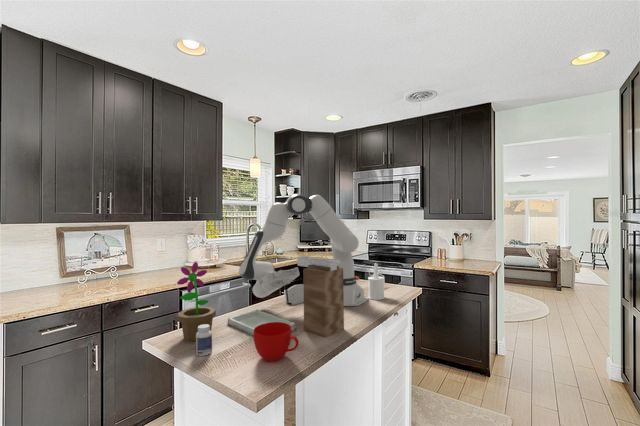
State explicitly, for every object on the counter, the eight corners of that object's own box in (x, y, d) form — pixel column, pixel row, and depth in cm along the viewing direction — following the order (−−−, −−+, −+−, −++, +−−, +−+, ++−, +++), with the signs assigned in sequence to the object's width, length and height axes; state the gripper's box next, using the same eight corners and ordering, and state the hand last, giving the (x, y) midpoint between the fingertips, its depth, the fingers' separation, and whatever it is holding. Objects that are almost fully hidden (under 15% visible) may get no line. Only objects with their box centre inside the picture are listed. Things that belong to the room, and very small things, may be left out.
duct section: (303, 264, 144) (303, 255, 144) (337, 269, 131) (336, 259, 131) (297, 265, 141) (297, 256, 141) (330, 270, 128) (330, 261, 128)
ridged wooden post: (323, 322, 142) (322, 262, 142) (343, 328, 134) (343, 265, 133) (304, 329, 133) (303, 266, 133) (324, 337, 125) (323, 269, 125)
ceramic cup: (286, 373, 98) (286, 341, 98) (245, 361, 106) (245, 331, 106) (308, 356, 109) (308, 327, 109) (269, 346, 117) (269, 319, 117)
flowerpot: (206, 327, 137) (205, 259, 137) (222, 336, 127) (221, 262, 127) (172, 337, 127) (171, 263, 127) (186, 348, 117) (185, 267, 117)
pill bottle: (214, 352, 113) (214, 325, 113) (200, 358, 109) (200, 330, 109) (207, 348, 116) (207, 322, 116) (193, 353, 112) (192, 326, 112)
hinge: (291, 305, 168) (287, 286, 171) (286, 306, 172) (282, 288, 174) (313, 298, 180) (309, 281, 183) (308, 300, 184) (304, 283, 186)
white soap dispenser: (374, 301, 174) (374, 265, 174) (364, 297, 182) (364, 262, 182) (389, 298, 179) (389, 263, 179) (379, 294, 188) (378, 261, 187)
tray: (257, 315, 153) (257, 309, 153) (295, 329, 134) (295, 323, 134) (227, 323, 141) (227, 318, 141) (265, 341, 122) (265, 334, 122)
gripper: (254, 278, 150) (270, 266, 142) (287, 272, 165) (303, 261, 157) (258, 290, 148) (274, 279, 140) (291, 283, 163) (307, 273, 155)
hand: (289, 270), depth 148 cm, fingers open, 8 cm apart
